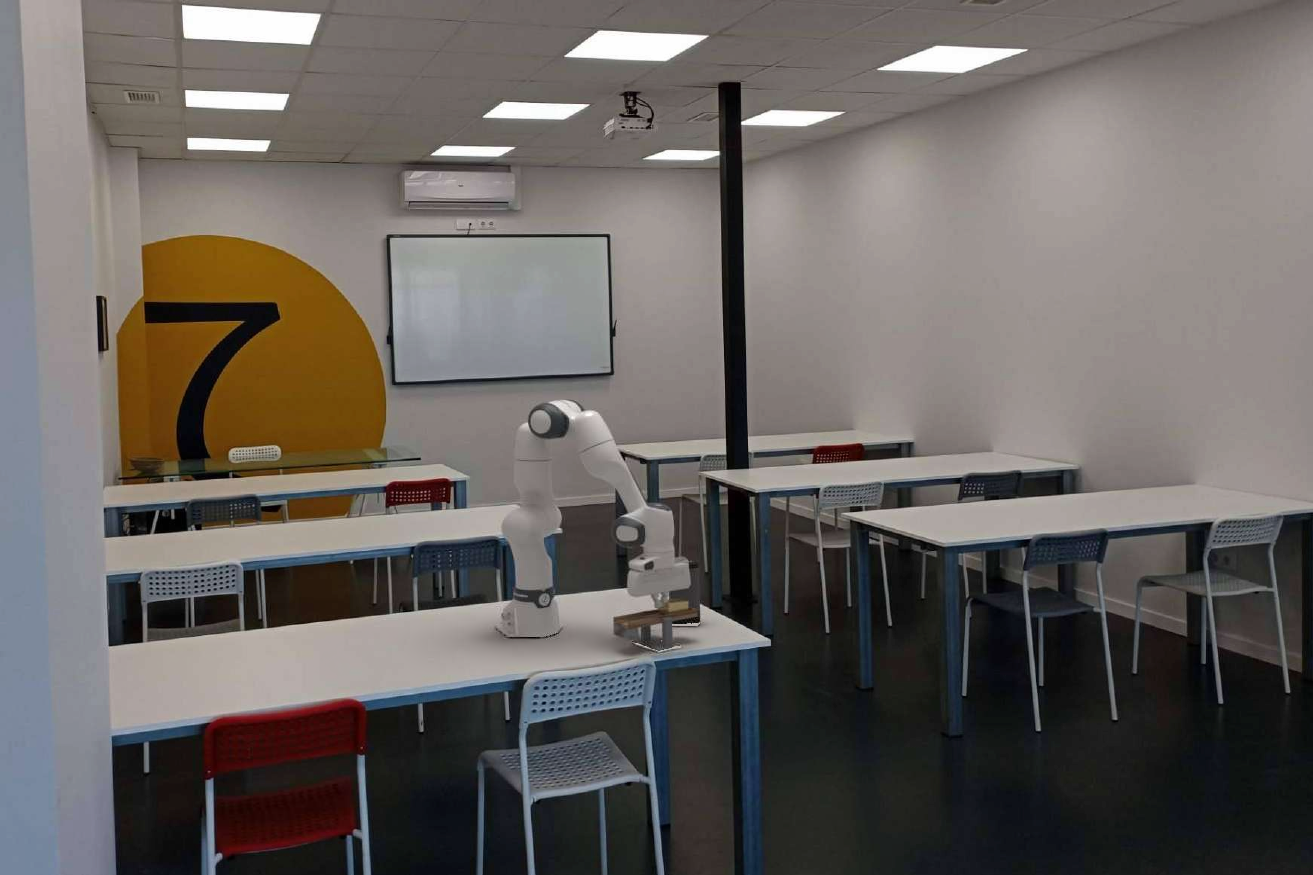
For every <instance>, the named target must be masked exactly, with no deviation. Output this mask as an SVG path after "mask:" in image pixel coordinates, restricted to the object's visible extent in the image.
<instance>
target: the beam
mask: <svg viewBox="0 0 1313 875" xmlns="http://www.w3.org/2000/svg"><path fill="white" fill-rule="evenodd" d="M697 616H698V609H694V608H691V607H688V611H683V612H678V613H672V614H667V615H666V614H662V613H659V612H658V609H657V608H654V609H651V610H644V612H642V611H640V612H634V613H628V614H623V615H617V616H613V619H612V620H613V622H612V623H613V624H612V625H613V626H612V627H613V635H614V636H617V637H620V638H622V639H626V640H627V641H632V640H636V639H640V637H639V635H640V634H639V633H640V632H639V629H641V627H645V626H650V625H651V626H655V625H659V624H660V625H662V618H667V617H670V618H672V621H676V620H681V619H687V618H692V617H697Z"/></svg>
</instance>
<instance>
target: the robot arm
mask: <svg viewBox="0 0 1313 875" xmlns="http://www.w3.org/2000/svg"><path fill="white" fill-rule="evenodd" d="M562 438H569V439H570V440H571V441H572V442H573V445H574V446H575V448H576V451H577V453H578V456H579V458H580V461H581V462H582V465H583V466H584V469H585V470H586V472H587V473H589V475H591V476H593V477H594V478H596V479H601V480H603V481H605V482H607V483H609V484H610V485H612V486H613V487H614V489H615V490H616V491H617V492H618V496H619V497H620V499H621V501H622V503H623V505H624V507H625V509H626V510H627V513H626V514H623V515H621V516H619V517H618V518H616V519H615V520H614V521H613V522H612V525H611V537H612V539H613V541H614V542H615V543H616V544H617V545H618V546H619V547H622V548H626V549H627V548H628V549H629V548H630V549H631V548H636V547H642V548H643V553H641V554H640V555H638V556H636V557H634V558H633V559H631V560H629V561H628V567H629V569H630V570H629V571H628V573H627V583H626V584H627V585H626V588H627V589H626V590H627V593H628V595H629V596H631V597H634V598H639V597H644V596H650V597H651V599H652V601H653V602H654V603H653V604H654V609H659V608H664V607H665V601H666V600H667V599H669V591H674V590H680V589H686V588H689V586H690V584H691V580H690V572H689V561H690V560H688V558H687V557H686V556H679V557H677V556H676V557H675V552H676V551H675V546H674V537H675V524H674V521H675V520H674V514H673V510H672V509H671V508H670V506H668V505H667V504H664V503H660V502H648V501H647V499H646V498H645V495H644V493H643V492H642V490H641V488H640V486H639V484H638V482H637V480H636V478H635V476H634V474H633V472H632V470H631V469H630V467H629V466H628V465H627V463H626V461H625V460H624V458H623V456H622V455H621V452H620V451H619V448H618V446H617V444H616V441H615V439H614V437H613V434H612V433H611V430H610V429H609V427H608V425H607V424H606V422H605V420H604V418H603V417H602V415H601V414H600V413H599V412H597V411H596V410H589V409H588V410H585V408H584V406H583V405H582V404H581V403H579V402H578V401H575V400H573V399H555V400H551V401H548V402H541V403H540V404H537V405H536V406H535V407H533V408H532V409H531V411H530V412H529V414H528V416H527V422H524V423H523V424H521V425H520V426H519V427H518V429H517V433H516V438H515V442H514V443H515V444H514V445H515V446H514V456H513V457H514V459H513V460H514V465H513V466H514V468H513V469H514V470H513V471H514V473H513V474H514V475H513V477H514V478H513V483H514V487H515V488H516V489H517V490H518V492H519V496H520V500H521V507H518V508H515V509H513V510H511V511H510V512H509V513H508V514H507V515H506V516H505V517H504V518H503V520H502V522H501V527H500V528H501V533H502V535H503V536H502V537H503V538H504V539H505V540H506V541H507V542H508V544H509V547H510V549H511V550H510V551H511V553H512V555H513V556H512V557H513V561H514V570H515V571H514V572H515V576H514V577H515V586H513V587H512V589H513V590H512V592H513V594H512V599H511V600H510V602H509V603H507V605H506V606H504V608H503V609H502V612H501V614H500V615H501V620H502V621H501V622H498V623H495V624H494V628H495V629H496V628H497V629H498V631H499V632H500V631H501V632H502V635H504V634H505V635H506V636H505V635H504V636H505V637H507V638H508V637H540V638H545V637H546V636H547V637H551V636H553V635H552V634H555V635H557V634H558V631H559V630H560V631H561V629H560V628H562V629H563V628H564V624H563V623H561V621H560V611H559V604H558V601H556V600H555V597H556V595H555V592H556V591H555V585H554V583H553V582H554V581H553V562H552V558H551V556H549V555H548V552H547V549H546V546H545V541H544V540H545V538H547V537H550V536H551V535H553V534H554V533H555V532H556V531H557V530H558V529H559V528H560V526H561V524H562V517H563V515H562V513H561V510H560V509H559V507H558V506H557V504H556V500H555V495H554V491H553V485H552V484H553V483H552V451H553V450H552V448H553V444H554V442H555V440H556V439H562ZM660 595H661V596H660ZM659 597H660V598H659ZM659 600H660V601H659ZM497 629H496V630H497ZM560 631H559V632H560ZM501 632H500V633H501ZM556 633H557V634H556ZM550 635H551V636H550Z"/></svg>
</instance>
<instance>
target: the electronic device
mask: <svg viewBox="0 0 1313 875" xmlns="http://www.w3.org/2000/svg"><path fill="white" fill-rule="evenodd" d="M688 561H689V572H690V580H691V584H690V586H689V588H686V589H680V590H674V591H669V595H668V599H675V598H679V599H683V600H686V601H689V602H688V607H691V608H694V609H698V616H697V617H692V618H687V619H681V620H676V621H672V624H687V623H691V624H692V623H699V622H700V623H701V588H700V587H701V584H700V583H701V580H700V560H699V559H698V558H691V560H688Z"/></svg>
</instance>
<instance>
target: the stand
mask: <svg viewBox="0 0 1313 875" xmlns="http://www.w3.org/2000/svg"><path fill="white" fill-rule="evenodd" d="M644 611H645V610H644ZM644 611H643V610H642V611H641V612H644ZM661 626H662V628H661V633H662V636H661V637H660V636H658V635H657V636H656V635H651V634H652V633H651V632H652V630H651V629H652V628H651V627H652V625H650V626H645V627H640V638H638V639H633V640H631V642H634V643H639V644H641V645H643V646H647V647H649V648H651V649H655V650H658V651H660V650H664V649H669V648H672V647H674V646H680V645H682V644H681V643H678V644H677V642H674V640H673V634H674V633H673V627H672V618H670V617H667V618H662V623H661ZM661 640H662V641H661Z"/></svg>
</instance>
